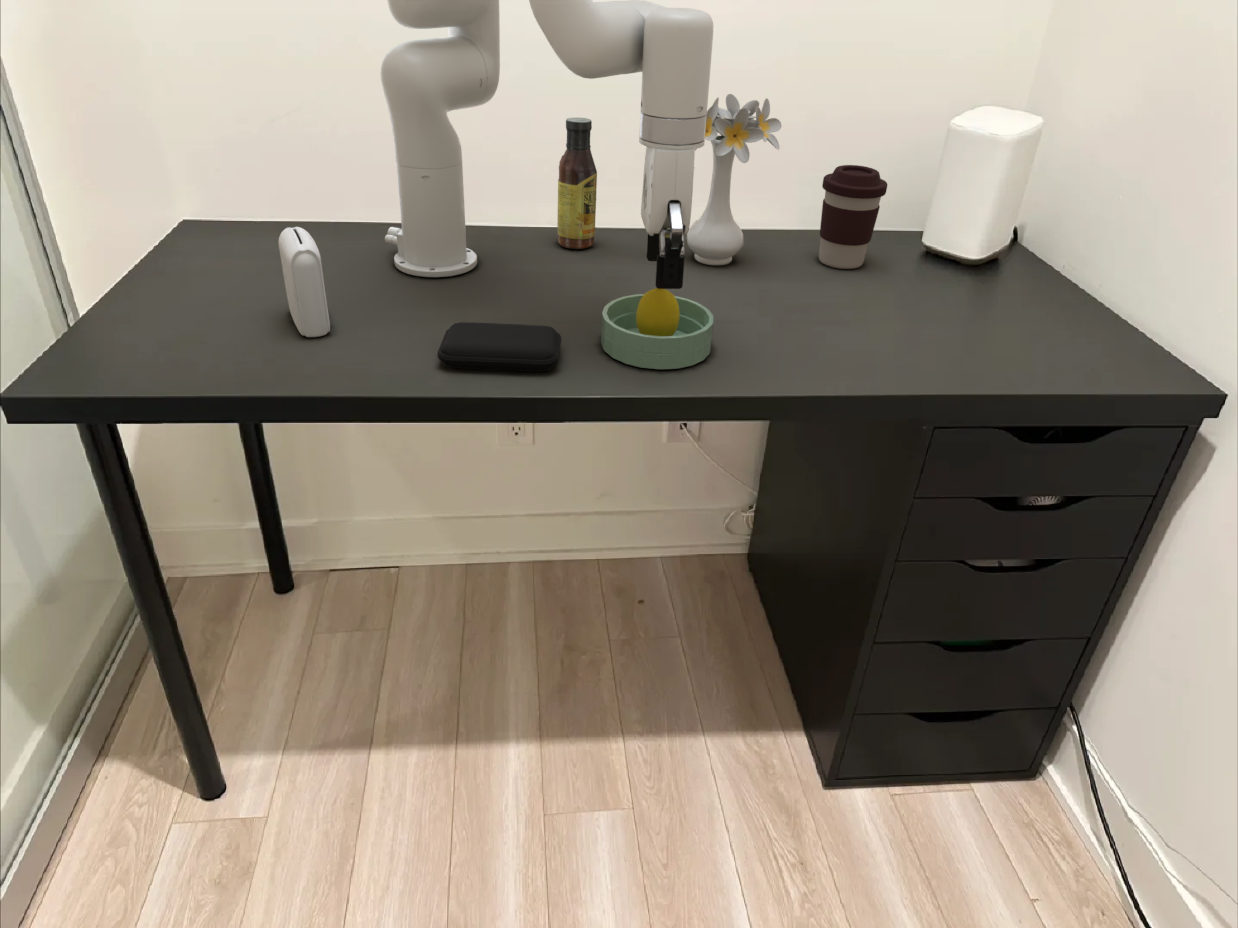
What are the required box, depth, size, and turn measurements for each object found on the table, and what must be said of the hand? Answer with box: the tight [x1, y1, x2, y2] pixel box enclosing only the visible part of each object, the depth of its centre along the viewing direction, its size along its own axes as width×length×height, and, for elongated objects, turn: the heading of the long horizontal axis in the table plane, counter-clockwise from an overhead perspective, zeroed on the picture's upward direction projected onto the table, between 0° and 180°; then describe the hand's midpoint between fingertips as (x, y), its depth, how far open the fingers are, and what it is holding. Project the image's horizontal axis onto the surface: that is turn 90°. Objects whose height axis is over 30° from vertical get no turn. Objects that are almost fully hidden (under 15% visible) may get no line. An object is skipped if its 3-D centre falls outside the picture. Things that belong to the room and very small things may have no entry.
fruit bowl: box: [600, 293, 715, 370], centre depth 115 cm, size 14×14×4 cm
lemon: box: [636, 287, 680, 336], centre depth 114 cm, size 6×6×8 cm
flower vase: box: [685, 93, 783, 266], centre depth 138 cm, size 13×18×25 cm
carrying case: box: [436, 321, 562, 373], centre depth 111 cm, size 11×3×15 cm
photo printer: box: [277, 226, 331, 338], centre depth 114 cm, size 10×4×12 cm, turn 26°
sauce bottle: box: [556, 117, 598, 250], centre depth 143 cm, size 7×6×20 cm
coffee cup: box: [818, 164, 888, 270], centre depth 143 cm, size 10×10×15 cm
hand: (663, 273), depth 111 cm, fingers open, 9 cm apart
